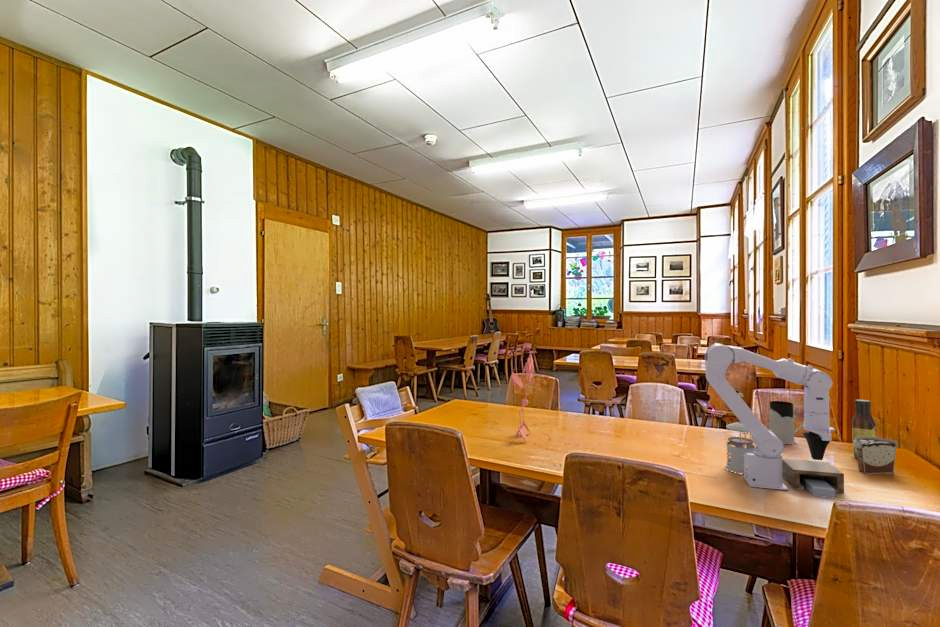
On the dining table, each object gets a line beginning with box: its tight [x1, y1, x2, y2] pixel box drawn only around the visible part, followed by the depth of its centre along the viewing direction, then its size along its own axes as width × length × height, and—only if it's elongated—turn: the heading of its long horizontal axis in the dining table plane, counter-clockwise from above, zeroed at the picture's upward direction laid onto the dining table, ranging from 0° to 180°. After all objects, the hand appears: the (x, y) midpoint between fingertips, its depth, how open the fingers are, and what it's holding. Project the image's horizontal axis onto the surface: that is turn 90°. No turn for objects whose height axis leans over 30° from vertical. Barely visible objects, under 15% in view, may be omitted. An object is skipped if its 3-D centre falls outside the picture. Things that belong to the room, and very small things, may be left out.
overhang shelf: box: [782, 458, 845, 494], centre depth 132 cm, size 12×10×6 cm
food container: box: [852, 436, 899, 475], centre depth 142 cm, size 12×6×10 cm, turn 92°
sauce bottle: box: [851, 399, 877, 459], centre depth 153 cm, size 7×6×20 cm
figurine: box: [511, 353, 536, 441], centre depth 183 cm, size 15×26×35 cm, turn 163°
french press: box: [724, 392, 756, 474], centre depth 145 cm, size 10×12×25 cm
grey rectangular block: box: [803, 479, 836, 498], centre depth 126 cm, size 5×7×2 cm
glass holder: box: [768, 400, 804, 445], centre depth 174 cm, size 9×14×15 cm, turn 88°
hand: (817, 459), depth 127 cm, fingers closed
